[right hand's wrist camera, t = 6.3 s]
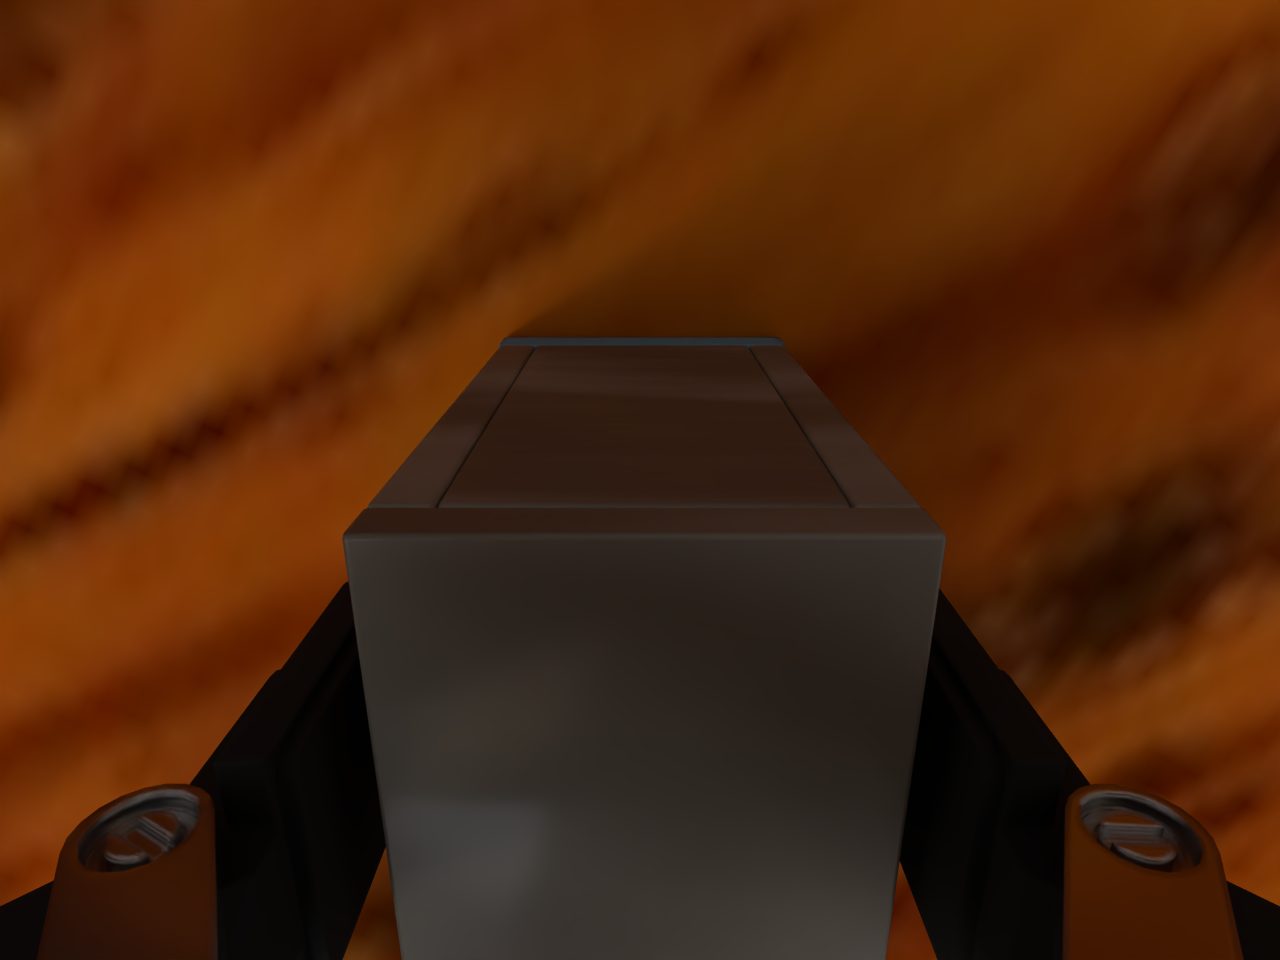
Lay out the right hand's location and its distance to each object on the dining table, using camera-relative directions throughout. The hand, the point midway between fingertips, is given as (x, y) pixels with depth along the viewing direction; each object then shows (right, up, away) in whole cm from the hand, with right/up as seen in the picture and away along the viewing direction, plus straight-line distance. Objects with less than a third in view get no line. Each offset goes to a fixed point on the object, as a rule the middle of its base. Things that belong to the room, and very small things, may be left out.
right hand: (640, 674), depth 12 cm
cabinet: (0, -1, +8) cm, 8 cm away
